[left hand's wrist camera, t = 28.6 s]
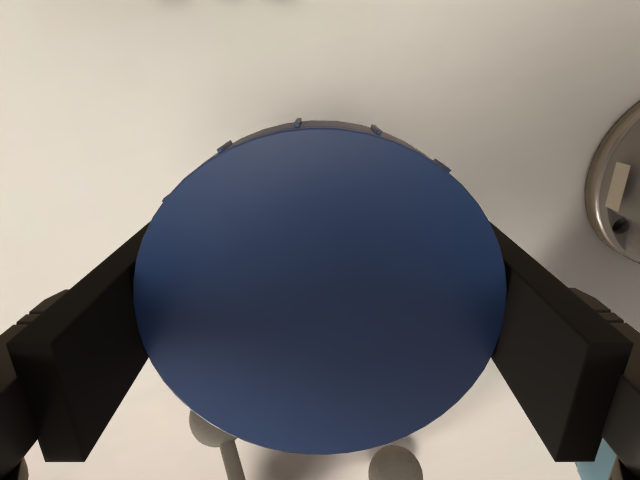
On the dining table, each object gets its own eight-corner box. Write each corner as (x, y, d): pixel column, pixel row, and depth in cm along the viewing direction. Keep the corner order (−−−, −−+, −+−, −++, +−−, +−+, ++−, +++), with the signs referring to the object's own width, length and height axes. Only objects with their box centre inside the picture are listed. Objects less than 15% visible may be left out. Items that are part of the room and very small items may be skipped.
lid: (115, 344, 12) (86, 381, 11) (235, 48, 9) (218, 41, 8) (376, 447, 14) (384, 494, 12) (550, 222, 11) (588, 245, 9)
